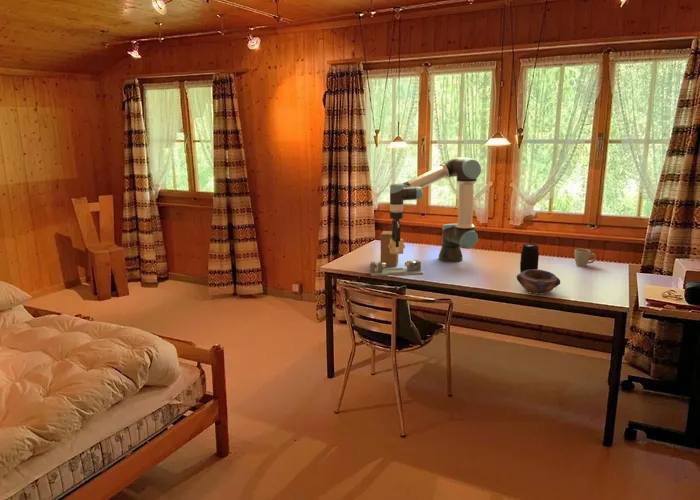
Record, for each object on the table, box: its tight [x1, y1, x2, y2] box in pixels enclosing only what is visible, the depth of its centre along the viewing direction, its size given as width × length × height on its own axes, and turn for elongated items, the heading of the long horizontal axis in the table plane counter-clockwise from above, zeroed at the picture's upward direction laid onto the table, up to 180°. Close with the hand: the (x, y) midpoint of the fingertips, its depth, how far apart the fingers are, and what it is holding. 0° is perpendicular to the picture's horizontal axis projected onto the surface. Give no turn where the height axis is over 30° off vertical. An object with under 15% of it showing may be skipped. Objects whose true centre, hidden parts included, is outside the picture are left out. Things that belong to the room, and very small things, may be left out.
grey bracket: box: [369, 261, 387, 273], centre depth 303 cm, size 9×4×6 cm, turn 81°
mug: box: [574, 248, 597, 268], centre depth 315 cm, size 12×9×10 cm
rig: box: [368, 267, 424, 277], centre depth 304 cm, size 30×10×2 cm, turn 96°
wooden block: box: [379, 230, 399, 267], centre depth 321 cm, size 10×10×20 cm
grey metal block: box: [404, 259, 422, 272], centre depth 305 cm, size 9×4×6 cm, turn 111°
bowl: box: [516, 268, 561, 295], centre depth 266 cm, size 18×18×10 cm
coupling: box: [388, 237, 406, 255], centre depth 300 cm, size 9×5×8 cm, turn 96°
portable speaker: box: [519, 242, 540, 273], centre depth 288 cm, size 9×9×20 cm
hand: (395, 251), depth 301 cm, fingers closed on coupling, 5 cm apart
